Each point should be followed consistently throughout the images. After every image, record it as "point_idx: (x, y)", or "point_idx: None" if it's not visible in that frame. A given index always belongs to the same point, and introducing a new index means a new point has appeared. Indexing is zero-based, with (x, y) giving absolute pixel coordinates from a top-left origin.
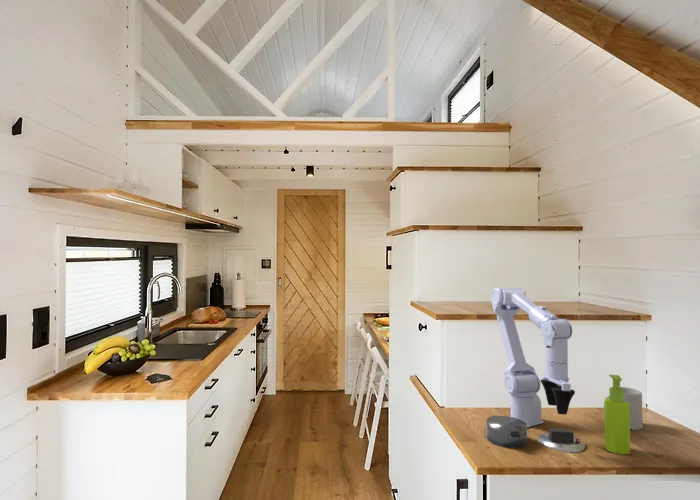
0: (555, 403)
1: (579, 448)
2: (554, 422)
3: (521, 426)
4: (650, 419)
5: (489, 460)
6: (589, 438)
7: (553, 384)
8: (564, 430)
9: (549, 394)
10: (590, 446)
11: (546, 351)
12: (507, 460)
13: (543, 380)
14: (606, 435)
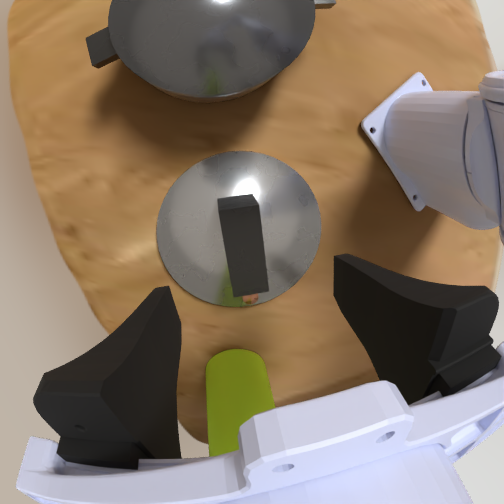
0: (337, 298)
1: (188, 285)
2: (422, 245)
3: (166, 65)
4: None
5: (31, 9)
6: (306, 323)
7: (406, 379)
8: (248, 268)
9: (370, 297)
10: (239, 317)
11: None
12: (36, 50)
13: (472, 321)
14: (230, 380)
